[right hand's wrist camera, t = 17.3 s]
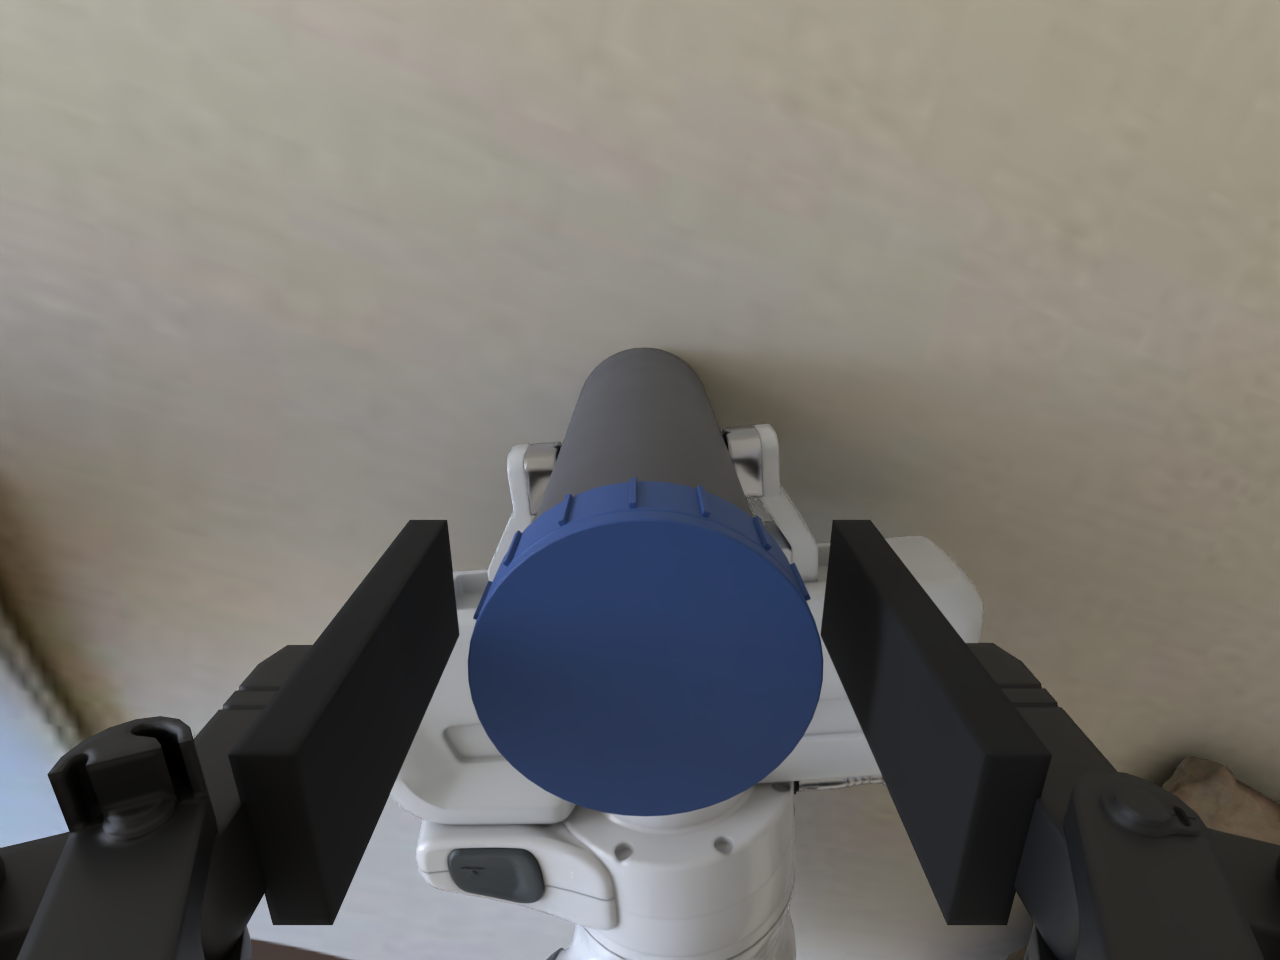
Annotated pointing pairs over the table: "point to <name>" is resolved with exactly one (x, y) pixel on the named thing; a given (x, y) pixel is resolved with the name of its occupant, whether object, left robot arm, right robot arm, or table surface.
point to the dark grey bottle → (643, 431)
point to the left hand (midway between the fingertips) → (639, 439)
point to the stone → (1219, 804)
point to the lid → (645, 651)
